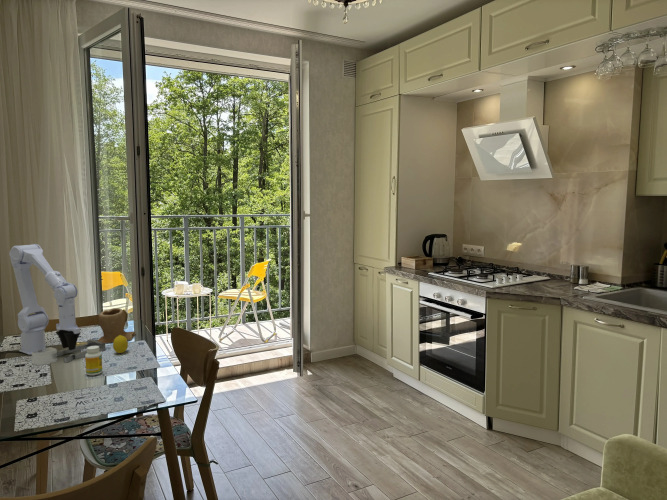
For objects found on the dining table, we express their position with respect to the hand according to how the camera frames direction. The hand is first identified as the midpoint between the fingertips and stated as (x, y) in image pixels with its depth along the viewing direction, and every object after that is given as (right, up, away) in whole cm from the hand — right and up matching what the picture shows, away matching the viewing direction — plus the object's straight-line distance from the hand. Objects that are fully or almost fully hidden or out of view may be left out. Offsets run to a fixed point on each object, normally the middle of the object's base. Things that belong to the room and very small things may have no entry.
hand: (69, 348), depth 191 cm
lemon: (+19, -3, +4) cm, 20 cm away
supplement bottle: (+19, -5, -18) cm, 27 cm away
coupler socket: (+2, -3, +3) cm, 5 cm away
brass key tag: (-2, -2, +14) cm, 14 cm away
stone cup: (+10, -2, +21) cm, 23 cm away
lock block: (-6, -4, -6) cm, 10 cm away
